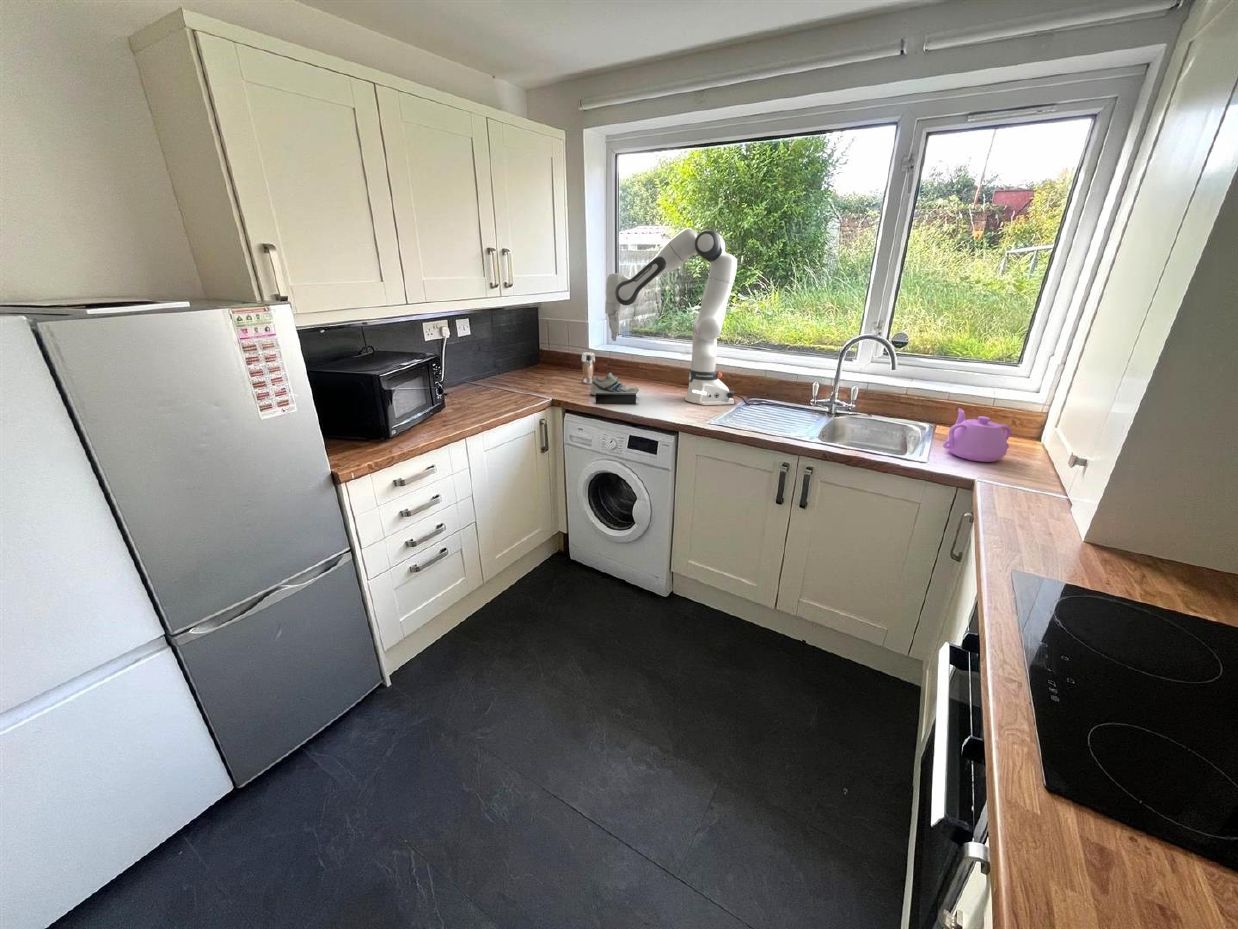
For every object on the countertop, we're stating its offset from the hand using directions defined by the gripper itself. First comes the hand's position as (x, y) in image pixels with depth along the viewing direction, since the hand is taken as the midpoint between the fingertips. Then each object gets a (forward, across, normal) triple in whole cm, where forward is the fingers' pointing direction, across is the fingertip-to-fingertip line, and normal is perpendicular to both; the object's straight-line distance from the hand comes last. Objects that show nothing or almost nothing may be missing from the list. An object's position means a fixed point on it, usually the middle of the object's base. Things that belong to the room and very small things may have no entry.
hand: (613, 339), depth 239 cm
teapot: (+24, -90, -119) cm, 151 cm away
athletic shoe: (+24, -14, 0) cm, 28 cm away
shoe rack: (+24, -28, 0) cm, 37 cm away
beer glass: (+24, +15, +12) cm, 31 cm away
